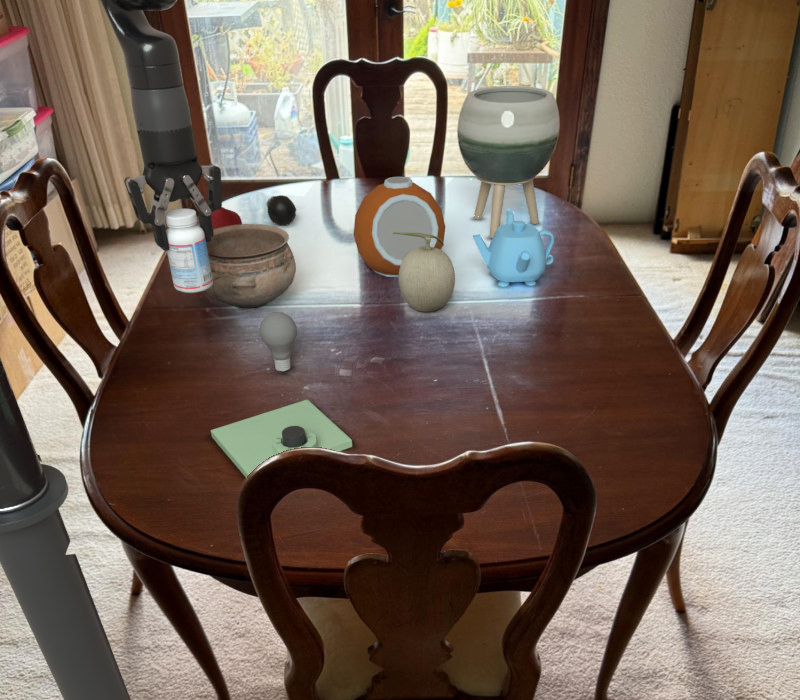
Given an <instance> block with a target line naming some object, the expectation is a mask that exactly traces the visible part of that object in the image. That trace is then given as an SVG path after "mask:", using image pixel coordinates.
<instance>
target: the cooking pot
mask: <svg viewBox="0 0 800 700" xmlns="http://www.w3.org/2000/svg"><path fill="white" fill-rule="evenodd" d="M213 232H214V234H213V237H211V241H209V242H206V244H207V250H208V256H209V262H210V267H211V273H212V279H213V284H212V286H211V287H210V288H209V289H207V290H204V292H205V293H206V294H207V295H209V296H210V297H211V298H213V299H214V300H217V301H219V302H221V303H224V304H226V305H230V306H233V307H236V308H238V309H241V310H255V309H256V310H257V309H260V308H262V307H264V306H266V305H267V304H269V303H270V302H272V301H274V300H275V299H277V298H279V297H280V296H281V295H283V294H284V293H285V292H287V291H288V289H289V288H290V287H291V286H292V284H293V281H294V279H295V277H296V272H297V264H296V259H295V256H294V253H293V250H292V249H291V247H290V244H289V243H288V241H289V239H290V234H289V233H288V232H287V231H286V230H285V229H283V228H280V227H279V226H274V225H270V224H264V223H263V224H262V223H242V224H239V225H231V226H225V227H221V228H217V229H213Z"/></svg>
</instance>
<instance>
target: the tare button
mask: <svg viewBox="0 0 800 700" xmlns="http://www.w3.org/2000/svg"><path fill="white" fill-rule="evenodd" d="M282 438H283V444H284V446H286V447H289V448H295V447H300V446H303V445H304V444H305V443H306V436H305V430H304V428H302V427H300V426H290V427H287V428H285V429H284V430H283V431H282Z"/></svg>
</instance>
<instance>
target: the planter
mask: <svg viewBox="0 0 800 700" xmlns="http://www.w3.org/2000/svg"><path fill="white" fill-rule="evenodd" d="M560 119H561V118H560V110H559V106H558V103H557V100H556V98H555V96H554V94H553V92H551V91H550V90H547V89H543V88H540V87H533V86H525V85H500V86H499V85H498V86H489V87H483V88H478V89H474V90H472V91H469V92H468V93H467V95H466V96H465V99H464V101H463V103H462V105H461V109H460V111H459V115H458V120H457V131H456V133H457V134H456V135H457V144H458V149H459V152H460V155H461V158H462V160H463V161H464V164H465V165H466V167H467V168H468V170H470V172H471V173H472V174H473V175H474V176H475V178H476V179H477V180H478V181H480V187H479V191H478V197H477V201H476V206H475V209H474V215H475V216H474V215H473V219H474V220H476V221H477V220H479V221H480V220H481V219H482V218H483V215H484V212H485V209H486V205H487V202H488V200H489V199H488V198H489V195H490V192H491V188H492V199H491V200H492V202H491V212H490V213H491V214H490V224H489V225H490V226H489V238H490V239H492V238H493V236H494V234H495V232H496V230H497V228H498V227H499V226H501V219H502V214H503V213H502V212H503V206H504V199H505V193H506V192H505V191H506V186H516V185H522V189H523V194H524V199H525V202H526V203H525V204H526V207H527V211H528V216H529V220H530V223H531V225H538V224H539V223H540V219H539V218H540V217H539V212H538V206H537V200H536V199H537V198H536V192H535V184H534V179H535V178H536V176H538V175H539V174H540V173H541V172H542V171H543V170H544V169H545V167H546V166H547V165H548V163H549V162H550V160H551V159H552V157H553V155H554V153H555V150H556V148H557V145H558V140H559V137H560V129H561V128H560V127H561V125H560V124H561V122H560V121H561V120H560ZM492 185H493V187H492ZM478 216H479V217H478Z"/></svg>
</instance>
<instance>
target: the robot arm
mask: <svg viewBox="0 0 800 700" xmlns="http://www.w3.org/2000/svg"><path fill="white" fill-rule="evenodd" d="M177 1H178V0H100V4H101V5H102V7H103V9H104V12H105V14H106V17H107V18H108V21H109V24H110V25H111V28H112V31H113V33H114V35H115V38H116V39H117V42H118V44H119V46H120V48H121V50H122V53H123V58H124V59H123V60H124V63H125V69H126V73H127V79H128V84H129V90H130V97H131V99H130V100H131V107H132V113H133V117H134V118H133V119H134V122H135V128H136V134H137V137H138V142H139V148H140V153H141V158H142V162H143V171H142V174H141V175H139V176H135V177H130V176H128V177H125V178H124V180H123V181H124V185H125V188H126V191H127V194H128V197H129V200H130V202H131V205H132V208H133V212H134V214H135V217H136V218H137V219H138V220H139V221H141V223H143V224H145V225H147V224H148V225H149V224H150V225H151V229H152V232H153V238H154V242H155V244H156V245H157V246H158V247H159V248H160V249H161V250H162V251H164V252H167V250H169V244H168V239H167V234H166V230H167V229H166V225H165V224H163V223H164V220H165V213H166V212H167V210H168V207H169V203H175V202H177V201H178V200H190V201H191V202H192V203H193V205H194V207H195V208H196V209H197V211H198V212H199V213H197V220H198V224H199V225H198V226H199V227H201V228H202V229H203V231H204V234H205V239H206V242H209V241H211V237H213V234H214V232H213V225H212V219H211V214H212V213H213V212H214V211H215V210H219V209H221V207H223V198H222V196H223V195H222V170H221V168H220V167H219V166H217V165H215V164H213V163H208V164H207V165H201V164H200V162H199V161H198V154H197V148H196V142H195V137H194V129H193V122H192V112H191V110H190V105H189V100H188V97H187V94H186V90H185V86H184V80H183V74H182V67H181V60H180V55H179V49H178V46H177V43H176V40H175V38H173V36H172V35H170V34H168V33H165V32H163V31H161V30H157V29H155V28H154V27H152V26H151V24H150V23H149V21H148V19H147V16H146V15H145V13H144V11H148V12H149V11H150V12H161V11H166V10H168V9H170V8H172V7H173V6H174V5H175V4H176V3H177ZM202 175H203V179H204V180H205V181H206V185H207V186H206V187H207V201H206V200H205V197H204V195H202V193H201V191H200V190H199V188H198V185H199V182H200V180H201V178H202ZM146 184H147V185H148V186H149V188H151V190H153V192H152V195H151V200H150V205H151V207H150V210H149V212H148V208H147V207H146V202H145V200H144V197H143V194H144V193H145V185H146ZM42 462H43V461H42V458H41V455H40V454H38V453H37V451H36V448H35V444H34V442H33V440H32V437H31V434H30V432H29V429H28V427H27V424H26V421H25V419H24V416H23V414H22V411H21V408H20V406H19V403H18V400H17V398H16V394H15V392H14V390H13V387H12V385H11V382H10V380H9V376H8V374H7V371H6V369H5V367H4V363H3V361H2V358H1V357H0V514H7V513H12V512H16V511H19V510H22V509H24V508H27V507H29V506H31V505H33V504H34V503H36V502H37V501H39V500H40V499H41V498H42V497H43V496H44V495H45V494H46V492H47V490H48V487H49V482H48V480H47V477H46V475H45V474H44V470H43V468H42V466H41V464H42Z"/></svg>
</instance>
